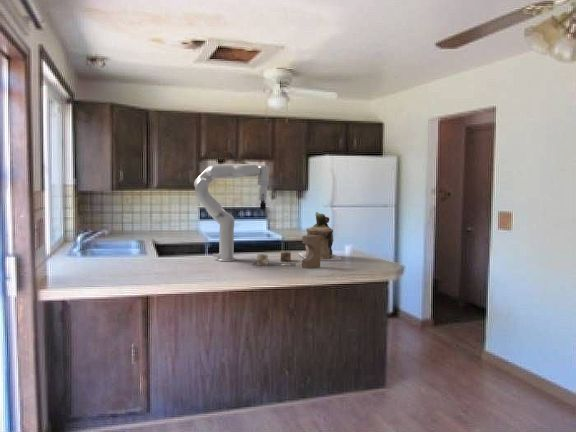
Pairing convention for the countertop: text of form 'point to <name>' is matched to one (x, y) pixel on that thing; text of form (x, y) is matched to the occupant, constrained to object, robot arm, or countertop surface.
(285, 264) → the mat
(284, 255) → the walnut block
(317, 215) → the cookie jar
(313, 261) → the decorative block
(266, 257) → the maple block
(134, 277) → the countertop surface
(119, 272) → the countertop surface
